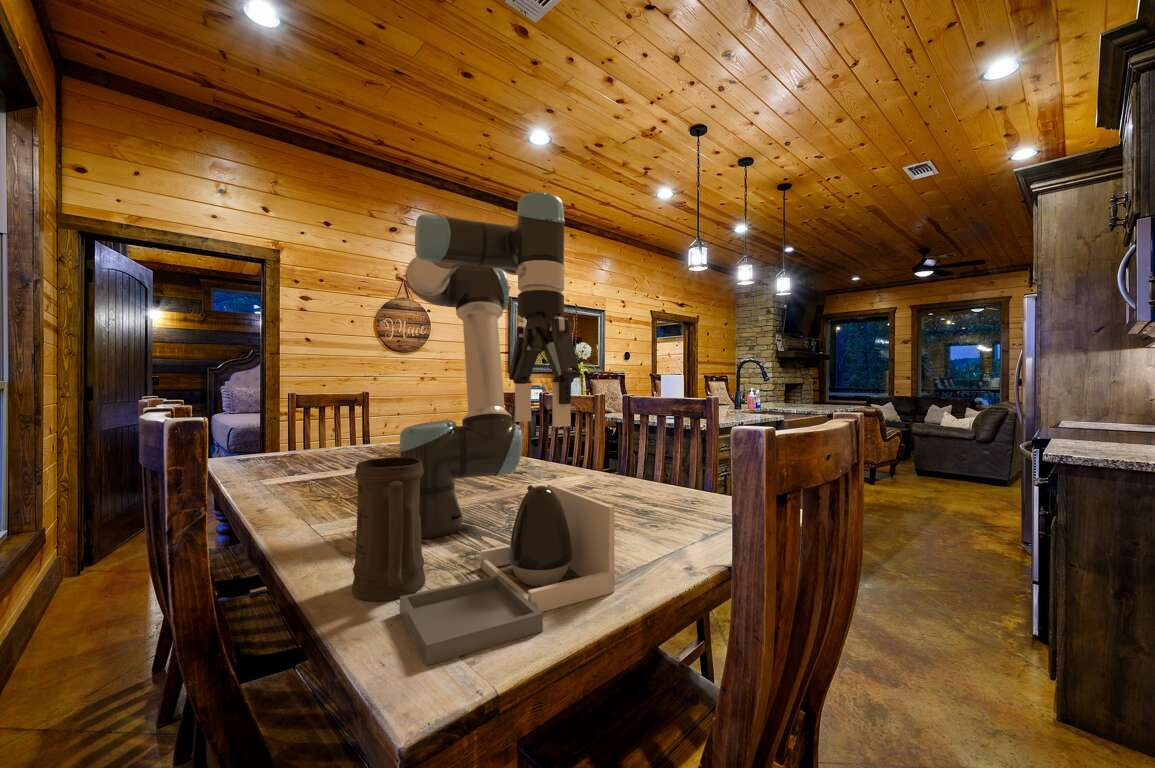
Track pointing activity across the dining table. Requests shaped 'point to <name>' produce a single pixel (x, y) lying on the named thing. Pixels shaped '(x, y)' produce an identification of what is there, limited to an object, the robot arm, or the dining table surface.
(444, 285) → the robot arm
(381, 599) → the beer stein
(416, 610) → the tray
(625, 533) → the dining table surface
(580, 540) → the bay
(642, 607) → the dining table surface
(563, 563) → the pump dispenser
